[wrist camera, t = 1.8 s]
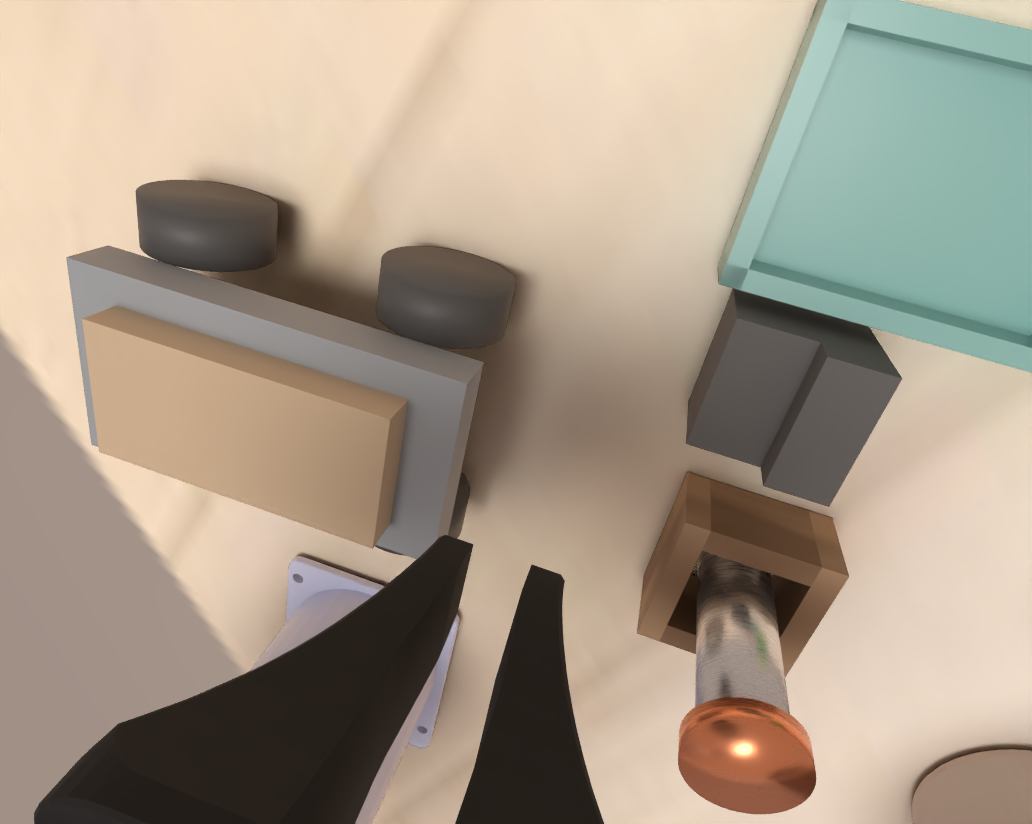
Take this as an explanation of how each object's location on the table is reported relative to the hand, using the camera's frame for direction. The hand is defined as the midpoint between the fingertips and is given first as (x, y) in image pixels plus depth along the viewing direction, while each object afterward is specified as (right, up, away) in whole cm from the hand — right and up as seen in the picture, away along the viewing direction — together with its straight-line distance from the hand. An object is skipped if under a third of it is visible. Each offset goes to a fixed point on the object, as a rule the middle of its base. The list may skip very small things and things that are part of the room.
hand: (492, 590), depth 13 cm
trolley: (-6, +6, +11) cm, 14 cm away
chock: (+9, +5, +7) cm, 12 cm away
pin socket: (+8, -1, +10) cm, 13 cm away
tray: (+11, +9, +4) cm, 15 cm away
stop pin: (+8, -1, +10) cm, 13 cm away
